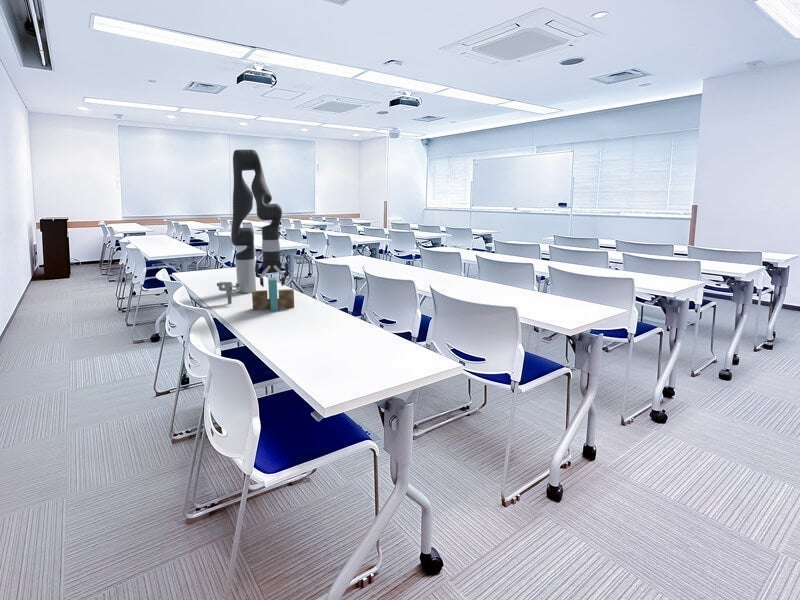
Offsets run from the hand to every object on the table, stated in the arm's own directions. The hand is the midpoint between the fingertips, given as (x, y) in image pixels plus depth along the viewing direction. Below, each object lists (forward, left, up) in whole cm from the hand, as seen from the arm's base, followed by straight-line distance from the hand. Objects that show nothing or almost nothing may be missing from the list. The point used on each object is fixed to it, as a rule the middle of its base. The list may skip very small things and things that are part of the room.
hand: (272, 286), depth 213 cm
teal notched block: (0, 0, -10) cm, 10 cm away
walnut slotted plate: (0, 0, -10) cm, 10 cm away
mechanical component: (-14, -19, -10) cm, 26 cm away
